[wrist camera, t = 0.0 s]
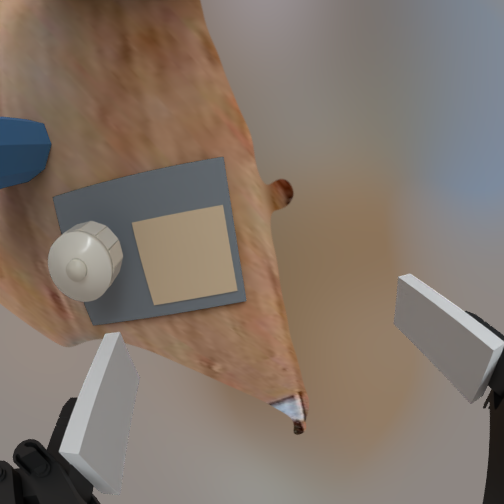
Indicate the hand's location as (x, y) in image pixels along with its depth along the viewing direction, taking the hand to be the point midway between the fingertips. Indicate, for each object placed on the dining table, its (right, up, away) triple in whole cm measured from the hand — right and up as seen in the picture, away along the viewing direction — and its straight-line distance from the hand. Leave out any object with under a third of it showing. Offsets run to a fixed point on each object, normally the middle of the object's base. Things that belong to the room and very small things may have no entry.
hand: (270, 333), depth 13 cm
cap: (-20, +3, +20) cm, 29 cm away
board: (-15, +4, +26) cm, 30 cm away
